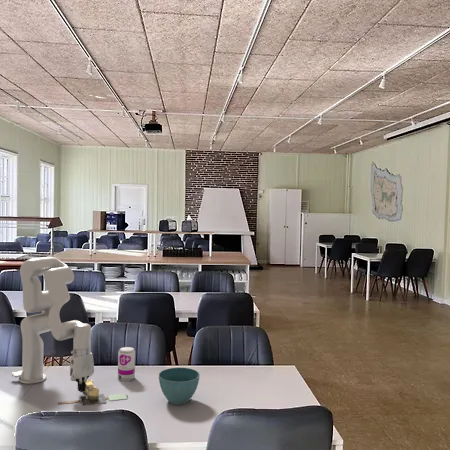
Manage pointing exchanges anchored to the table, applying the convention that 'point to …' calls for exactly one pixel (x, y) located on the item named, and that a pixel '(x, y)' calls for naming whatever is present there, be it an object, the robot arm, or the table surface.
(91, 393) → the bar
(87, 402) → the lock base plate
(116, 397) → the keeper pad
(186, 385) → the teal round bowl
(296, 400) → the table surface
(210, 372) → the table surface
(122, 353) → the supplement can
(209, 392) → the table surface
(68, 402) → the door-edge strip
